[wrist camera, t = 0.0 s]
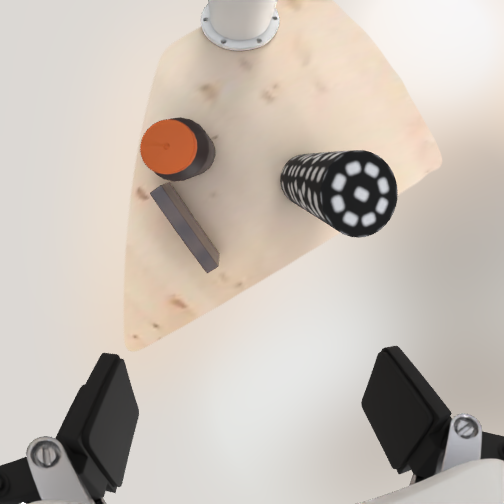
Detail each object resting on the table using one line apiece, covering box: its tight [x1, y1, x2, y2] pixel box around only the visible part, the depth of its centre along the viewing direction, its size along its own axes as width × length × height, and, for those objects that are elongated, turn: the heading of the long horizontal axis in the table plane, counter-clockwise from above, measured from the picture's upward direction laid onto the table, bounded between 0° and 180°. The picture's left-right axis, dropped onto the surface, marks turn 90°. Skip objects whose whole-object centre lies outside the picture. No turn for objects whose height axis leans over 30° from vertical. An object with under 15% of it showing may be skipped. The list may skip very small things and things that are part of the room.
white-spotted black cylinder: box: [281, 150, 397, 237], centre depth 35 cm, size 8×8×20 cm
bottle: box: [140, 118, 215, 181], centre depth 32 cm, size 7×7×20 cm
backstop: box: [150, 182, 219, 273], centre depth 42 cm, size 14×2×6 cm, turn 32°
